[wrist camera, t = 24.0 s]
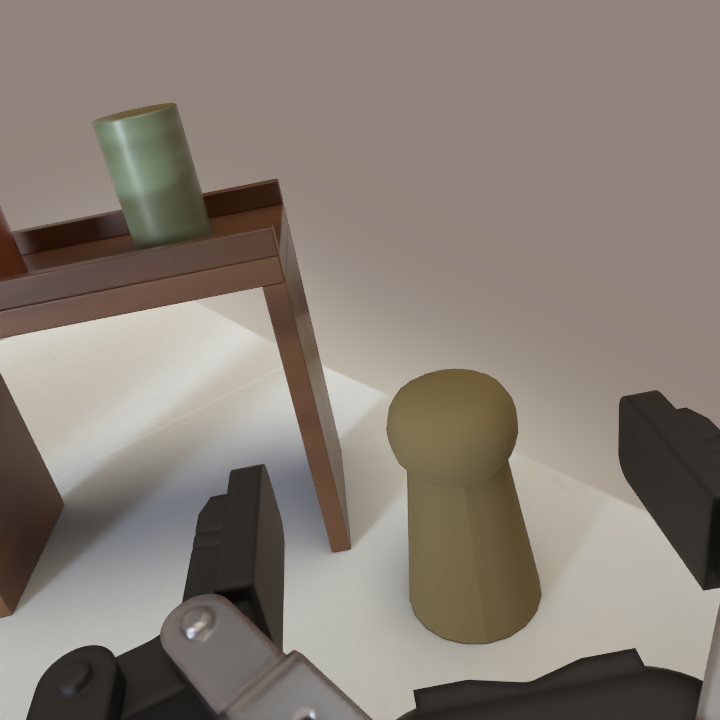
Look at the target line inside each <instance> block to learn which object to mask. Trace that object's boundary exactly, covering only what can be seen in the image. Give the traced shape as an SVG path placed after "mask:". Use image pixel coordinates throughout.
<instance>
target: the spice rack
mask: <svg viewBox="0 0 720 720" xmlns="http://www.w3.org/2000/svg"><path fill="white" fill-rule="evenodd" d="M92 125H93V127H94V130H95V133H96V136H97V139H98V142H99V145H100V148H101V151H102V153H103V156H104V159H105V162H106V165H107V168H108V171H109V173H110V176H111V179H112V181H113V185H114V188H115V191H116V193H117V197H118V199H119V202H120V205H121V208H122V210H118V211H112V212H107V213H102V214H98V215H93V216H87V217H83V218H77V219H72V220H67V221H62V222H57V223H53V224H47V225H42V226H38V227H32V228H27V229H22V230H17V231H12V232H11V230H10V227H9V225H8V223H7V221H6V218H5V216H4V213H3V211H2V209H1V206H0V338H6V337H11V336H16V335H21V334H26V333H31V332H36V331H41V330H46V329H51V328H56V327H61V326H66V325H71V324H76V323H81V322H86V321H91V320H96V319H101V318H107V317H112V316H117V315H122V314H127V313H132V312H137V311H142V310H147V309H152V308H157V307H162V306H167V305H172V304H177V303H182V302H187V301H192V300H197V299H202V298H207V297H213V296H218V295H222V294H228V293H233V292H238V291H243V290H248V289H253V288H258V287H263V291H264V295H265V299H266V302H267V306H268V310H269V314H270V318H271V322H272V325H273V329H274V333H275V337H276V340H277V344H278V348H279V352H280V356H281V360H282V363H283V367H284V371H285V375H286V379H287V382H288V386H289V390H290V394H291V398H292V401H293V405H294V409H295V413H296V417H297V420H298V424H299V428H300V432H301V436H302V439H303V443H304V447H305V451H306V455H307V458H308V462H309V466H310V470H311V474H312V477H313V481H314V485H315V489H316V493H317V496H318V500H319V504H320V508H321V512H322V515H323V519H324V523H325V527H326V531H327V534H328V538H329V542H330V546H331V550H332V552H337V551H342V550H347V549H351V544H350V534H349V524H348V514H347V504H346V494H345V484H344V474H343V464H342V454H341V447H340V443H339V438H338V434H337V430H336V426H335V421H334V417H333V413H332V408H331V404H330V400H329V395H328V391H327V387H326V383H325V378H324V374H323V370H322V365H321V361H320V357H319V353H318V348H317V344H316V340H315V336H314V331H313V327H312V322H311V318H310V314H309V310H308V305H307V302H306V297H305V292H304V288H303V284H302V280H301V276H300V271H299V267H298V262H297V258H296V254H295V250H294V245H293V241H292V237H291V232H290V228H289V224H288V220H287V215H286V211H285V207H284V203H283V198H282V194H281V189H280V185H279V181H278V179H273V180H268V181H263V182H258V183H253V184H248V185H243V186H238V187H233V188H228V189H223V190H218V191H213V192H208V193H203V194H202V191H201V188H200V184H199V181H198V177H197V174H196V170H195V167H194V164H193V160H192V157H191V153H190V150H189V146H188V143H187V139H186V136H185V132H184V129H183V125H182V122H181V118H180V115H179V112H178V108H177V105H176V104H175V103H166V104H159V105H152V106H147V107H142V108H137V109H132V110H128V111H124V112H120V113H116V114H112V115H109V116H105V117H102V118H99V119H97V120H95V121H93V122H92ZM63 506H64V502H63V500H62V498H61V496H60V494H59V492H58V490H57V488H56V486H55V484H54V482H53V480H52V477H51V475H50V473H49V471H48V469H47V467H46V465H45V463H44V461H43V459H42V457H41V455H40V453H39V451H38V449H37V447H36V445H35V443H34V441H33V439H32V437H31V435H30V433H29V431H28V428H27V426H26V424H25V422H24V420H23V418H22V416H21V414H20V412H19V410H18V408H17V406H16V404H15V402H14V400H13V398H12V396H11V394H10V392H9V390H8V388H7V386H6V384H5V382H4V379H3V377H2V375H1V373H0V617H3V616H8V615H12V614H13V611H14V609H15V607H16V605H17V603H18V601H19V599H20V597H21V595H22V592H23V590H24V588H25V586H26V584H27V582H28V580H29V578H30V575H31V573H32V571H33V569H34V567H35V565H36V563H37V561H38V559H39V556H40V554H41V552H42V550H43V548H44V546H45V544H46V542H47V540H48V537H49V535H50V533H51V531H52V529H53V527H54V525H55V523H56V521H57V518H58V516H59V514H60V512H61V510H62V508H63Z"/></svg>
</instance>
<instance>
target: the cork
mask: <svg viewBox="0 0 720 720" xmlns="http://www.w3.org/2000/svg"><path fill="white" fill-rule="evenodd" d="M386 430H387V435H388V440H389V443H390V445H391V448H392V450H393V453H394V455H395V456H396V458H397V460H398V462H399V464H400V465H401V466H403V467H404V468H405V469H406V470H407V487H408V537H409V587H410V601H411V604H412V607H413V610H414V613H415V615H416V616H417V617H418V619H419V620H420V621H421V622H422V623H423V624H424V626H425V627H426V628H427V629H429V630H431V631H432V632H434V633H436V634H437V635H439V636H441V637H442V638H444V639H448V640H452V641H456V642H460V643H464V644H476V643H490V642H493V641H497V640H500V639H504V638H507V637H509V636H511V635H512V634H514V633H515V632H517V631H518V630H520V629H522V628H523V627H525V626H526V625H527V623H528V622H529V621H530V619H531V618H532V617H533V616H534V614H535V613H536V612H537V609H538V605H539V602H540V598H541V589H540V582H539V577H538V573H537V569H536V565H535V561H534V558H533V554H532V550H531V546H530V542H529V538H528V534H527V531H526V527H525V523H524V519H523V515H522V511H521V508H520V504H519V500H518V496H517V492H516V488H515V485H514V481H513V477H512V473H511V469H510V465H509V461H508V459H509V457H510V456H511V454H512V451H513V449H514V446H515V444H516V439H517V435H518V423H517V414H516V408H515V405H514V403H513V400H512V397H511V396H510V395H509V393H508V392H507V391H506V390H505V388H504V387H503V386H502V385H501V384H500V383H499V382H498V381H497V380H496V379H494V378H492V377H491V376H489V375H487V374H484V373H480V372H477V371H473V370H465V369H447V370H439V371H435V372H431V373H427V374H425V375H423V376H420V377H418V378H416V379H414V380H412V381H410V382H409V383H407V384H406V385H405V386H403V387H402V388H401V389H400V390H399V391H398V393H397V394H396V396H395V397H394V399H393V401H392V403H391V405H390V407H389V412H388V418H387V429H386Z"/></svg>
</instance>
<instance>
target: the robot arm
mask: <svg viewBox="0 0 720 720" xmlns="http://www.w3.org/2000/svg"><path fill="white" fill-rule="evenodd" d="M619 461H620V465H621V468H622V471H623V474H624V476H625V478H626V480H627V482H628V483H629V485H630V486H631V487H632V489H633V490H634V492H635V493H636V494H637V496H638V497H639V499H640V500H641V502H642V503H643V505H644V506H645V507H646V509H647V510H648V512H649V513H650V515H651V516H652V517H653V519H654V520H655V522H656V523H657V525H658V526H659V527H660V529H661V530H662V532H663V533H664V535H665V536H666V538H667V539H668V540H669V542H670V543H671V545H672V546H673V548H674V549H675V550H676V552H677V553H678V555H679V556H680V558H681V559H682V560H683V562H684V563H685V565H686V566H687V568H688V569H689V570H690V572H691V573H692V575H693V576H694V578H695V579H696V581H697V582H698V583H699V585H700V586H701V588H702V589H703V591H704V590H709V589H715V588H720V430H719V429H718V428H717V427H716V426H715V425H714V424H713V423H712V422H711V421H710V420H709V419H708V418H706V417H704V416H702V415H700V414H698V413H696V412H694V411H692V410H690V409H688V408H682V409H676V408H675V407H674V406H673V405H672V404H671V403H670V402H669V401H668V400H667V399H666V398H665V397H664V396H663V395H662V394H661V393H660V392H659V391H657V390H655V391H649V392H644V393H639V394H634V395H628V396H623V397H622V398H621V399H620V404H619ZM284 547H285V543H284V532H283V525H282V520H281V516H280V513H279V509H278V506H277V503H276V499H275V496H274V492H273V489H272V486H271V482H270V479H269V475H268V472H267V469H266V467H265V465H264V464H261V465H256V466H251V467H246V468H240V469H235V470H231V472H230V477H229V484H228V491H227V494H224V495H219V496H214V497H211V498H210V499H209V501H208V502H207V504H206V505H205V506H204V508H203V509H202V511H201V512H200V514H199V516H198V522H197V527H196V536H195V537H194V543H193V550H192V553H191V559H190V564H189V569H188V575H187V580H186V585H185V590H184V596H183V601H182V604H180V605H179V606H178V607H176V608H175V609H174V610H173V611H172V612H171V613H170V614H169V615H168V617H167V618H166V620H165V621H164V623H163V625H162V628H161V632H160V635H158V636H157V637H155V638H154V639H152V640H151V641H149V642H147V643H145V644H143V645H141V646H139V647H137V648H134V649H132V650H130V651H128V652H126V653H124V654H121V655H119V656H117V657H114V655H113V653H112V652H111V651H110V650H109V649H107V648H105V647H103V646H98V645H90V646H84V647H81V648H78V649H75V650H73V651H71V652H69V653H67V654H65V655H64V656H62V657H61V658H59V659H58V660H57V661H56V662H55V663H53V664H52V665H51V666H50V667H49V668H48V669H47V670H46V672H45V673H44V674H43V676H42V677H41V679H40V681H39V682H38V685H37V687H36V690H35V693H34V696H33V699H32V702H31V706H30V709H29V712H28V715H27V718H26V720H372V719H371V718H370V717H369V716H368V715H367V714H366V713H365V712H364V711H363V710H362V709H361V708H360V707H359V706H357V705H356V704H355V703H354V702H353V701H352V700H351V699H350V698H349V697H348V696H347V695H346V694H345V693H343V692H342V691H341V690H340V689H339V688H338V687H337V686H336V685H335V684H334V683H333V682H332V681H331V680H330V679H328V678H327V677H326V676H325V675H324V674H323V673H322V672H321V671H320V670H319V669H318V668H317V667H316V666H315V665H313V664H312V663H311V662H310V661H309V660H308V659H307V658H306V657H305V656H304V655H302V654H301V653H300V652H298V651H295V650H293V651H292V652H290V653H289V654H288V655H286V654H285V653H284V652H283V599H284ZM413 691H414V697H415V703H416V709H414V710H412V711H410V712H407V713H406V714H404V715H402V716H401V717H399V718H398V719H396V720H720V605H719V610H718V614H717V619H716V624H715V629H714V633H713V638H712V643H711V648H710V652H709V657H708V662H707V667H706V671H705V676H704V681H702V680H699V679H697V678H695V677H692V676H689V675H687V674H684V673H681V672H677V671H673V670H669V669H665V668H658V667H652V666H644V664H643V662H642V660H641V658H640V656H639V654H638V652H637V651H636V649H635V648H633V649H628V650H623V651H618V652H612V653H607V654H602V655H596V656H591V657H586V658H581V659H579V660H576V661H574V662H572V663H570V664H568V665H566V666H564V667H561V668H559V669H557V670H555V671H553V672H551V673H549V674H547V675H544V676H542V677H540V678H538V679H536V680H534V681H531V682H502V681H481V680H464V681H459V682H454V683H448V684H443V685H438V686H433V687H427V688H422V689H417V690H413Z"/></svg>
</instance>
